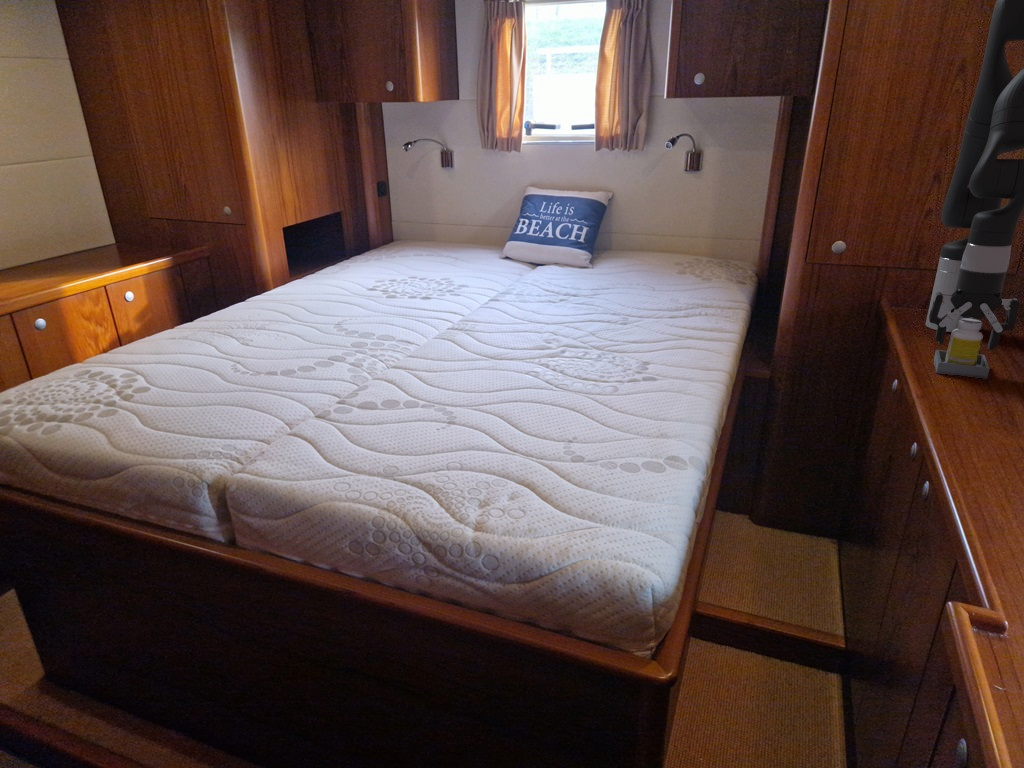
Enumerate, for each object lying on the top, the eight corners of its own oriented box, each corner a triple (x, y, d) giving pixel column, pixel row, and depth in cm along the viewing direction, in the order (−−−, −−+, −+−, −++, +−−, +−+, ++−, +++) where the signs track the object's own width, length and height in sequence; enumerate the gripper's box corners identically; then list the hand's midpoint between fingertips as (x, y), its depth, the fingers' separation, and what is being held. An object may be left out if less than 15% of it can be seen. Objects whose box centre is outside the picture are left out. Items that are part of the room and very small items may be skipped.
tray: (933, 360, 142) (935, 349, 141) (981, 365, 138) (984, 354, 137) (936, 373, 135) (938, 362, 134) (986, 379, 131) (989, 368, 130)
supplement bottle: (979, 371, 133) (991, 325, 130) (950, 370, 134) (960, 324, 131) (968, 362, 138) (979, 317, 134) (939, 361, 139) (949, 316, 136)
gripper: (1025, 265, 128) (1004, 345, 134) (939, 261, 135) (923, 336, 141) (1032, 273, 122) (1010, 356, 128) (942, 268, 128) (925, 347, 134)
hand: (964, 346), depth 134 cm, fingers open, 8 cm apart
